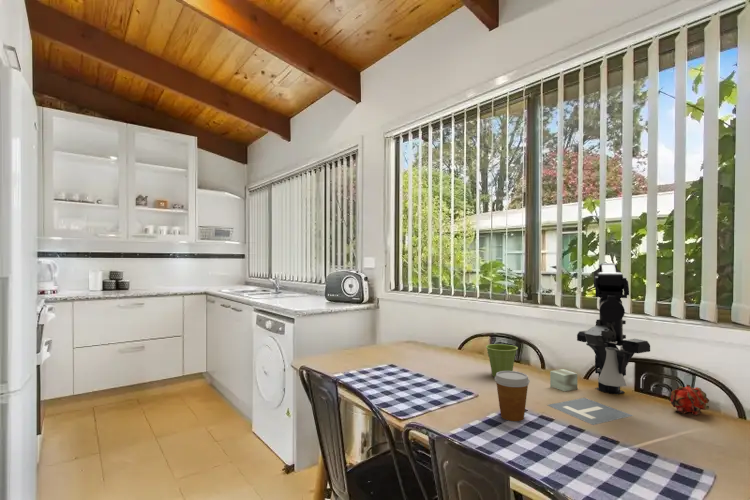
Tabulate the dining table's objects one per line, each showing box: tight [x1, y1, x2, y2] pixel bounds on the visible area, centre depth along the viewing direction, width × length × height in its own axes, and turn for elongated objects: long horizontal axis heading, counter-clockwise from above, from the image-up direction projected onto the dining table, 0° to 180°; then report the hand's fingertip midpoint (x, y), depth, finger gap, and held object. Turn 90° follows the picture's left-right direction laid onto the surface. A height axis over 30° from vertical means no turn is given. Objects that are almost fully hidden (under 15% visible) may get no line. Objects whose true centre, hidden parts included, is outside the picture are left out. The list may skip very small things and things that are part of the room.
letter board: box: [547, 397, 634, 426], centre depth 119 cm, size 16×16×1 cm
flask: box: [597, 347, 627, 387], centre depth 116 cm, size 7×7×10 cm
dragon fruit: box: [668, 383, 710, 416], centre depth 118 cm, size 8×8×12 cm
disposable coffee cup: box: [494, 370, 531, 422], centre depth 116 cm, size 10×10×12 cm
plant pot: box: [485, 343, 519, 378], centre depth 155 cm, size 12×12×11 cm
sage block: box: [549, 368, 578, 392], centre depth 140 cm, size 6×6×6 cm
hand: (611, 371), depth 116 cm, fingers closed on flask, 5 cm apart
